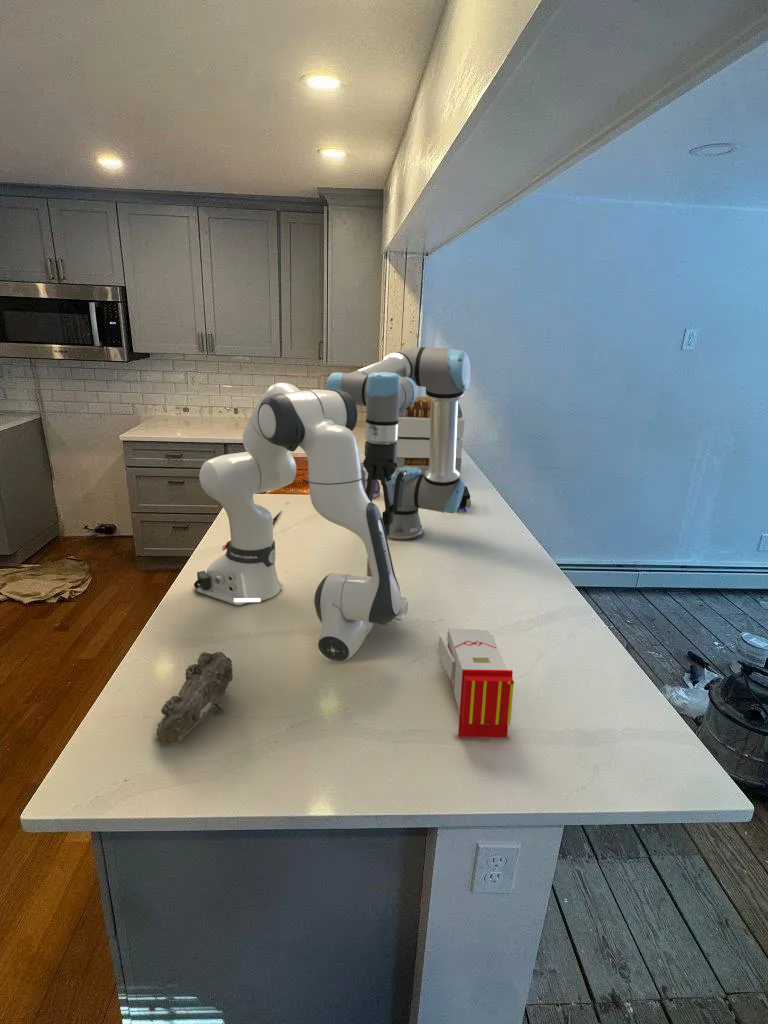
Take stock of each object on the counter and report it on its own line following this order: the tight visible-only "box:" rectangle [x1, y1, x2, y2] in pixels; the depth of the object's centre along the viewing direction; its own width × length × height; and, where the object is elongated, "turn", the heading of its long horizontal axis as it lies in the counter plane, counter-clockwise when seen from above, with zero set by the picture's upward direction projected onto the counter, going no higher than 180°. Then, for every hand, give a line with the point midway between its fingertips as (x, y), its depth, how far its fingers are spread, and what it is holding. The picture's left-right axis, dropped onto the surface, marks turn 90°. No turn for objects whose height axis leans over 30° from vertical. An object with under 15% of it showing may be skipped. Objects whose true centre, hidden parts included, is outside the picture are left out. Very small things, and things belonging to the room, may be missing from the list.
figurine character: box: [456, 485, 472, 513], centre depth 228 cm, size 7×8×15 cm
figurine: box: [364, 469, 381, 499], centre depth 236 cm, size 9×10×15 cm
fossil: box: [155, 651, 234, 743], centre depth 109 cm, size 22×10×15 cm
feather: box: [273, 510, 282, 526], centre depth 212 cm, size 2×28×2 cm
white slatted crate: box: [395, 395, 465, 480], centre depth 268 cm, size 34×33×41 cm
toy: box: [437, 628, 515, 738], centre depth 117 cm, size 12×13×30 cm
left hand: (375, 588), depth 146 cm, fingers closed on bottle, 4 cm apart
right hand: (377, 533), depth 140 cm, fingers closed on cap, 4 cm apart
